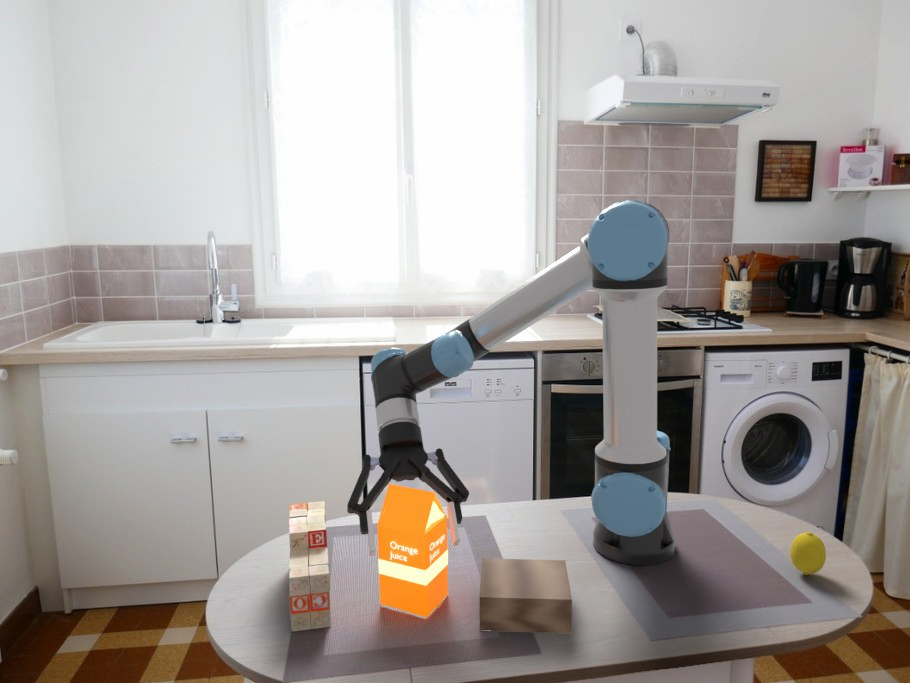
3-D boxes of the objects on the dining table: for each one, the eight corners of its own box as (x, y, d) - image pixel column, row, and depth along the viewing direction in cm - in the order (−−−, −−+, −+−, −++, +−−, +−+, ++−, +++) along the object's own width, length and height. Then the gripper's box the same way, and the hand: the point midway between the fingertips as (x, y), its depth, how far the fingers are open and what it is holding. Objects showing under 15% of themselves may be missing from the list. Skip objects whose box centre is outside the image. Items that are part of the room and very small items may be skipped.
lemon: (822, 570, 124) (826, 528, 123) (824, 585, 119) (828, 542, 118) (788, 564, 127) (792, 522, 125) (788, 578, 122) (792, 536, 120)
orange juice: (403, 584, 121) (400, 475, 118) (449, 596, 118) (447, 484, 114) (379, 607, 115) (375, 492, 111) (426, 621, 111) (423, 502, 107)
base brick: (564, 592, 119) (565, 560, 118) (571, 635, 107) (572, 599, 106) (482, 590, 120) (482, 558, 119) (479, 632, 108) (479, 597, 107)
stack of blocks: (332, 628, 109) (328, 555, 107) (290, 633, 108) (286, 559, 106) (328, 561, 130) (324, 499, 128) (293, 565, 129) (289, 502, 126)
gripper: (464, 433, 129) (486, 546, 118) (327, 445, 124) (335, 564, 112) (471, 414, 123) (494, 531, 111) (327, 425, 118) (336, 549, 106)
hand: (415, 548), depth 112 cm, fingers open, 13 cm apart
